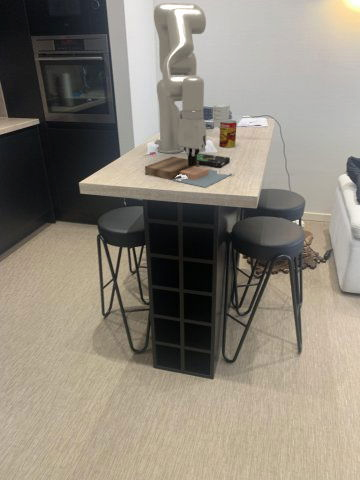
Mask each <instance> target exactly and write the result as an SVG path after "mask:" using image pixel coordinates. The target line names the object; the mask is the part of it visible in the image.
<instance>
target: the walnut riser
mask: <svg viewBox="0 0 360 480" xmlns="http://www.w3.org/2000/svg"><path fill="white" fill-rule="evenodd" d="M195 166H196V167H200V165H199V161H197V163H196V165H195ZM190 167H191V166H188V158H183V157H178V156H172V157H170V156H169V158H165V159H162V160H160V161H156V162H155V163H151V164H149V165H145V166H144V174H145V175H149V176H152V177H156V178H161V179H167V180H171V181H173V180H175V179H176V178H175V177H176V176H177V175H179V174H180V171H182V170H185V169H187V168H190Z"/></svg>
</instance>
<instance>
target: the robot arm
mask: <svg viewBox="0 0 360 480" xmlns="http://www.w3.org/2000/svg"><path fill="white" fill-rule="evenodd" d="M206 19H207V18H206V14H205V11H204V10H203V9H202V7H200V6H199V5H198V4H196V3H184V2H183V3H181V2H180V3H179V2H165V3H164V2H163V3H159V4H156V6H155V7H154V9H153V21H154V26H155V29H156V32H157V33H156V34H157V35H158V42H159V43H158V44H159V45H158V46H159V48H158V51H159V53H158V54H159V57H158V58H159V69H160V70H159V71H160V73H161V75H162V79H160V80H159V81H158V82H157V84H156V94H157V98H158V99H157V100H158V111H159V113H158V114H159V136H160V137H159V138H160V139H156V140H155V141H154V144H155V145H158V147H157V149H156V150H157V152H160V153H163V154H178V153H182V152H185V153H186V156H187V159H188V166H191V167H193V166H195V165H196V163H197V155H198V154H201V153H203V152H206V146H207V126H206V120H205V119H204V106H205V105H204V103H205V102H204V101H205V99H204V95H205V94H204V93H205V81H204V79H203V78H202V77H200V76H198V75H197V65H198V64H197V58H196V57H197V56H196V54H195V53H194V49H195V48H194V47H195V46H194V40H193V35H201V34H203V33H204V32H205V30H206V25H207V20H206ZM175 102H182V103H181V106H182V107H181V108H182V110H180V108H179V107H178V106H177V105H176V103H175ZM181 117H182V118H181Z"/></svg>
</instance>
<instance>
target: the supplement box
mask: <svg viewBox="0 0 360 480" xmlns="http://www.w3.org/2000/svg"><path fill="white" fill-rule="evenodd" d="M222 120H230V105H226V104H217V105H213V107H212V123H213V122H214V126H215V127H214V128H216V127H218V128H217V129H220V121H222Z"/></svg>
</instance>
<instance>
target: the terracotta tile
mask: <svg viewBox="0 0 360 480" xmlns="http://www.w3.org/2000/svg"><path fill="white" fill-rule="evenodd" d="M209 170H210V169H209V168H204V167H200V166H199V167H196V166H193V167H190V168H187V169H185V170H182V171H180V174H182V175H186V176H187V177H188V179H192V180H196V179H198V178H201V177H203V176H205V175H208V172H209Z"/></svg>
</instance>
